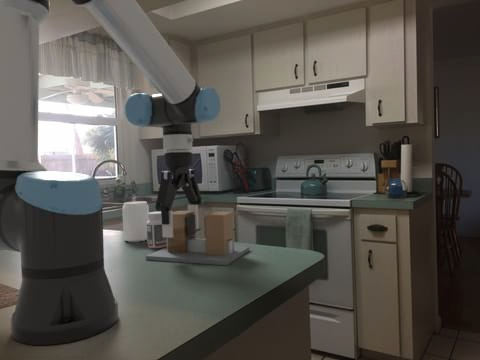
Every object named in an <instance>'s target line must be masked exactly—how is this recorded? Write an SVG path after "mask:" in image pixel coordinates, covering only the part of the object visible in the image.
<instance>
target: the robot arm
mask: <svg viewBox="0 0 480 360" xmlns="http://www.w3.org/2000/svg"><path fill="white" fill-rule="evenodd" d="M71 1H72V3H73V4H75V6H77V7H81V8H83V7H84V8H86V9H87V10H88V11H89V13H90V14H91V15H92V16H93V17H94V18H95V20H96V21H97V22H98V23H99V24H100V25H101V27H102V28H103V29H104V30H105V32H107V34H108V35H110V37H111V38H112V39H113V41H114V42H115V43H116V44H117V45H118V47H119V48H120V49H121V50H122V51H123V52H124V53H125V55H126V56H127V57H128V58H129V59H130V61H131V62H132V63H133V64H134V65H135V66H136V67H137V68H138V69H139V71H140V72H141V73H142V75H144V77H146V79H147V80H148V81H149V83H151V85H152V86H153V87H154V88H155V89H156V90H157V91H158V93H156V94H148V93H144V92H143V93H139V92H137V93H133V94H131V95H129V97H128V98H127V100H126V102H125V106H124V111H125V112H124V114H125V118H126V119H127V121H128V122H129V123H130V124H131V125H133V126H138V127H141V128H147V127H148V128H162V135H163V136H162V143H163V144H162V145H163V147H162V148H163V151H164V154H163V165H164V167H166V168H168V170H162V171H161V173H160V174H161V176H160V177H161V179H160V184H159V188H158V194H157V197H156V202H155V207H154V208H155V211H156V212H161V217H162V236H163V237H168V238H172V237H174V235H173V212H174V211H173V210H171V208H172V207H173V204H174V201H175V199H176V196H177V193H178V191H179V190H180V189H182V192H183V193H184V195H185V197H186V199H187V202H188V203H189V204H187V211H194V212H195V223H196V229H199V206H198V205H201V204H202V195H201V191H200V188H199V187H200V186H199V184H198V180H197V177H196V170H195V168H193V169H190V168H189V167H193V166H194V153H193V152H192V150H193V142H194V138H193V131H192V124H193V125H194V124H202V123H207V122H208V123H209V122H213V121H215V120H216V119H217V118H218V116H220V112H221V98H220V95H219V93H218V92H217V90H216V89H215V88H213V87H210V86H200V85H199V84H198V83H197V82H196V80H195V79H194V77H193V76H192V75H191V73H190V72H189V71H188V69H187V68H186V67H185V66H184V64H183V63H182V61H181V60H180V58H179V57H178V56H177V54H176V53H175V52H174V50H173V49H172V48H171V46H170V45H169V44H168V42H167V41H166V39H165V38H164V37H163V35H162V34H161V32H159V30H158V28H157V27H156V26H155V25H154V23H153V21H152V20H151V19H150V18H149V16H148V15H147V14H146V12H145V11H144V10H143V8H142V7H141V6H140V4H139V3H138V2H137V0H71ZM49 17H50V0H0V251H9V252H10V251H11V252H15V253H16V252H17V253H20V264H21V265H20V267H21V269H20V270H21V282H20V283H21V284H20V287H19V292H18V296H17V298H16V299H17V300H16V305H15V309H14V312H13V313H12V316H11V318H10V331H11V337H12V339H14V340H15V341H17V342H19V343H21V344H27V345H40V346H41V345H42V346H44V345H47V346H48V345H59V344H64V343H71V342H74V341H79V340H83V339H86V338H89V337H92V336H95V335H98V334H100V333H101V332H104V331H106V330H108V329H109V328H111V327H112V326H113V325H114V324H116V322H117V321H118V319H119V307H118V306H119V304H118V301H117V298H116V297H115V296H114V294H113V293H114V292H113V291H112V290H113V289H112V287H111V286H112V285H111V284H110V281H109V278H108V275H107V274H106V270H105V257H104V256H105V252H104V251H105V250H104V225H103V224H104V222H103V219H104V218H103V206H104V205H103V199H102V196H101V195H102V194H101V187H100V186H101V185H100V183H99V181H98V179H96V177H94V176H92V175H89V174H84V173H78V172H70V171H67V172H65V171H54V170H53V171H52V170H47V168H46V167H45V166H43V165H42V163H40V162H39V159H38V155H39V151H38V150H39V82H40V81H39V79H40V78H39V76H40V75H39V73H40V72H39V71H40V70H39V69H40V68H39V67H40V66H39V65H40V64H39V63H40V58H39V57H40V25H41V24H42V23H44V22H45V21H47V20H48V18H49Z"/></svg>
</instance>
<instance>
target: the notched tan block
mask: <svg viewBox="0 0 480 360" xmlns="http://www.w3.org/2000/svg"><path fill="white" fill-rule="evenodd" d="M196 234H197V228H196V223H195V212H194V211H188V210H176V211H173V235H174V237H172V238H168V237H167V239H168V252H172V253H187V252H188V248H187V239H196Z"/></svg>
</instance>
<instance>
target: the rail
mask: <svg viewBox="0 0 480 360" xmlns="http://www.w3.org/2000/svg"><path fill="white" fill-rule="evenodd" d="M233 213H234V212H233V211H213V212H209V213H206V214H204V217H203V218H204V221H203V222H204V225H203V226H204V238H195V239H187V248H188V252H187V253H172V252H168V239H167V246H166V247H163V248H162V249H160V250H157V251H154V252H152V253H150V254H147V255H145V261H156V262H157V261H159V262H172V263H185V264H187V263H189V264H201V265H202V264H203V265H215V266H216V265H219V266H227V265H229V264H230V263H232V262H234V261H235V260H237V259H239V258H240V257H242V256H243V255H245V254H246V253H247V252H249V251H250V246H243V245H241V246H240V245H234V243H235V242H234V216H233Z"/></svg>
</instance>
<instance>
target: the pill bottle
mask: <svg viewBox="0 0 480 360" xmlns="http://www.w3.org/2000/svg"><path fill="white" fill-rule="evenodd" d="M148 218H149V220H148V221H147V240H146V241H147V247H148V248H149V249H161V248H162V249H163V248H167V237H163V236H162V217H161V211H149V213H148Z"/></svg>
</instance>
